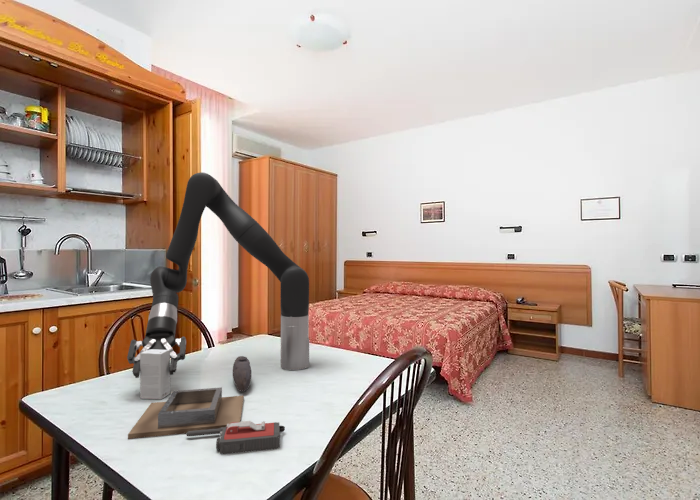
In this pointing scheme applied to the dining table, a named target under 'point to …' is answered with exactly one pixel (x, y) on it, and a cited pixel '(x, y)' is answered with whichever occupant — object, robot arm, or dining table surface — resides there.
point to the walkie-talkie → (244, 436)
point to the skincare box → (154, 374)
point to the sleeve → (192, 416)
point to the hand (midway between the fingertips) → (154, 374)
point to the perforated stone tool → (242, 373)
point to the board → (149, 426)
